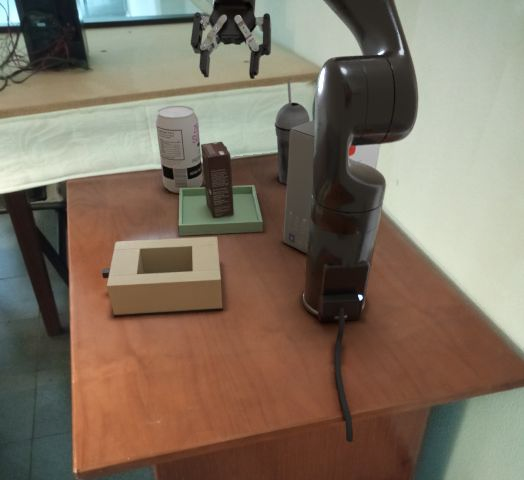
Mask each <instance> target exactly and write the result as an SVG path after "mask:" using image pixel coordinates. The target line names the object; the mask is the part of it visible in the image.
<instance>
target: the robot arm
mask: <svg viewBox="0 0 524 480" xmlns="http://www.w3.org/2000/svg"><path fill="white" fill-rule="evenodd" d="M322 1H323V2H324V3H325V4H326V6H327V7H328V8H329V9H330V10H331V11H332V12H333V13H334V14H335V15H336V16H337V18H338V19H339V20H340V21H341V22H342V23H343V24H344V25H345V26H346V28H347V29H348V30H349V31H350V32H351V34H352V36H353V37H354V39H355V41H356V42H357V43H356V44H357V45H358V47H359V49H360V52H361V55H360V54H359V55H341V56H334V57H330V58H328V59H327V60H326V61H325V62H324V63H323V65H322V66H321V68H320V71H319V73H318V77H317V81H316V88H315V95H314V97H315V99H314V100H315V101H314V120H315V131H314V154H313V189H312V201H311V214H310V224H309V237H308V249H307V254H306V262H305V263H306V264H305V273H304V277H305V278H304V288H303V294H302V304H303V307H304V308H305V309H306V310H307V312H308V313H310V314H312V315H313V316H315V317H317V319H318V322H320V323H325V322H326V323H327V322H338V328H337V329H338V331H337V335H336V338H335V339H336V340H335V347H334V373H335V382H336V387H337V392H338V399H339V403H340V407H341V409H342V413H343V416H344V417H343V418H344V422H345V437H346V439H345V440H346V441H347V442H348V443H352V442H354V435H353V434H354V433H353V431H354V429H353V420H352V415H351V410H350V408H349V405H348V401H347V397H346V393H345V392H346V391H345V387H344V382H343V376H342V367H341V366H342V365H341V352H342V342H343V337H344V331H345V321H356V320H360V319H361V317H362V312H364V309H365V305H366V296H367V291H368V290H367V289H368V285H369V279H370V274H371V268H372V263H373V258H374V257H373V256H374V253H375V247H376V242H377V236H378V232H379V231H378V230H379V227H380V221H381V215H382V211H383V210H382V209H383V206H384V200H385V195H386V188H387V182H386V178H385V175H383V173H382V172H381V171H379V170H378V169H377V168H376V169H375V168H373V167H371V166H369V165H366V164H364V163H360V162H357V161H354V160H352V159H349V147H350V146H363V145H375V144H381V145H385V144H392V143H393V144H394V143H398V142H401V141H403V140H405V139H406V138H407V137H408V136H409V135H410V134H411V133H412V131H413V129H414V127H415V124H416V122H417V117H418V111H419V86H418V85H419V84H418V77H417V73H416V68H415V64H414V60H413V57H412V54H411V50H410V47H409V44H408V41H407V38H406V34H405V31H404V27H403V25H402V22H401V18H400V15H399V12H398V8H397V5H396V0H322ZM255 11H256V0H212V11H211V13H210V14H209V16H208V15H207V16H206V15H202V14H201V13H200V12H198V11H197V12H195V13H194V14H193V20H192V21H193V22H192V29H191V37H190V46H191V48H192V50H193V52H194V54H196V55H199V65H198V67H199V70H200V72H201V74H202V75H203V77H204V78H209V76H210V67H211V66H210V65H211V57H210V56H211V55H212V53H213V52H214V51H215V50H217V49H218V48H219V47H220V46H221V44H223V45H226V46H228V45H232V44H233V45H236V46H241V45H242V44H243V43H244V45H245V47H247V49H248V50H249V51H250V57H249V69H248V75H249V79H251V80H255V78H256V76H258V75H259V70H260V59H261V58H262V57H263V56H270V55H271V53H272V19H271V14H270V13H268V12H266V13H264V14H263V16H256V15H255ZM208 26H210V27H211V29H210V30H209V32H208V33H207V35H206V37H205V38H204V40H203V35H204V32H205V31H206V29H207V28H208ZM256 27H258V28H259V31H260V32H261V33H262V43H260V44H258V42H257V41H256V40H255V38H254V36H253V34H252V32H253V31H254V30H255V29H256Z"/></svg>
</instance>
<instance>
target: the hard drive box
mask: <svg viewBox="0 0 524 480" xmlns="http://www.w3.org/2000/svg"><path fill="white" fill-rule="evenodd" d="M314 131H315V119H312V120H310V121H309V122H307V123H304V124H301V125H298V126H296V127H293V128H291V130H290V139H289V159H288V176H287V184H286V192H285V193H286V194H285V207H284V208H285V211H284V225H283V239H282V240H283V241H282V242H283V243H284V244H286V245H288V246H291V247H293V248H294V249H296V250H299V251H300V252H301V253H305V254H306V255H307V249H308V237H309V224H310V214H311V201H312V189H313V154H314ZM381 145H382V144H375V145H363V146H350V147H349V159H352V160H354V161H357V162H360V163H364V164H366V165H369V166H371V167H373V168H375V169H376V170H377V167H378V161H379V155H380V149H381Z"/></svg>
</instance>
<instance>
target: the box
mask: <svg viewBox="0 0 524 480" xmlns="http://www.w3.org/2000/svg"><path fill="white" fill-rule="evenodd" d="M200 151H201V161H202V172H203V183H204V187H205V193H206V202H207V206H208V208H209V210H210V212H211V214H212V216H213V218H219V217H227V216H232V215H234V207H233V190H232V186H233V176H232V160H231V158H232V157H231V153H230V152H229V150H228V147H227V146H226V145H225V144H224V142H223V141H217V142H216V141H215V142H208V143H200Z"/></svg>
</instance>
